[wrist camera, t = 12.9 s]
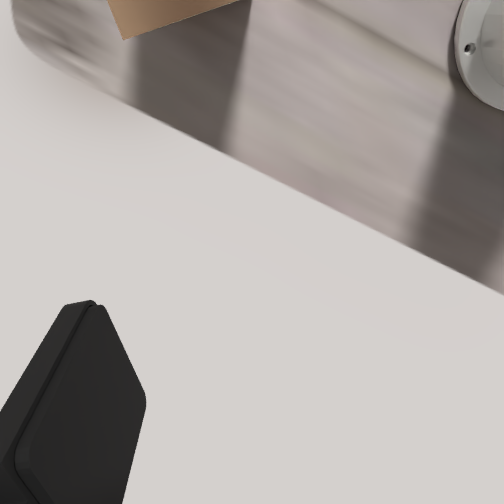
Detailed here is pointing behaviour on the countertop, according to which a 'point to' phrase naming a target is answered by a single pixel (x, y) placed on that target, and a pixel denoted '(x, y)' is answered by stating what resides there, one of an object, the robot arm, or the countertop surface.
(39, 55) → the countertop surface
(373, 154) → the countertop surface
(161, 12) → the walnut block
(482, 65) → the robot arm
